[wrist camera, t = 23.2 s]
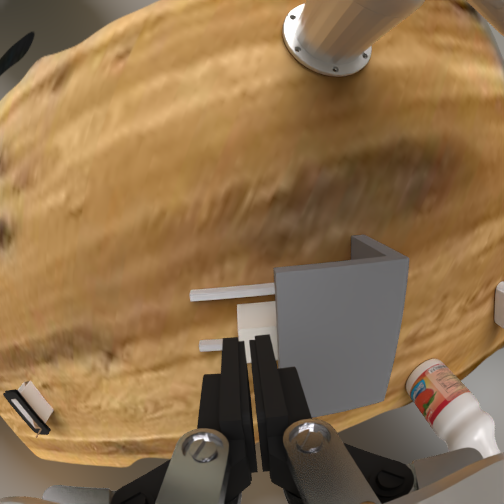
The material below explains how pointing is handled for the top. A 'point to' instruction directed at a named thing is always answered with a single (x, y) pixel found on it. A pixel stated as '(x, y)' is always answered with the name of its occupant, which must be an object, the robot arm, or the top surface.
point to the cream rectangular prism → (257, 324)
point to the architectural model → (30, 407)
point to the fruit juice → (451, 409)
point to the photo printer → (499, 305)
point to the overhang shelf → (334, 323)
